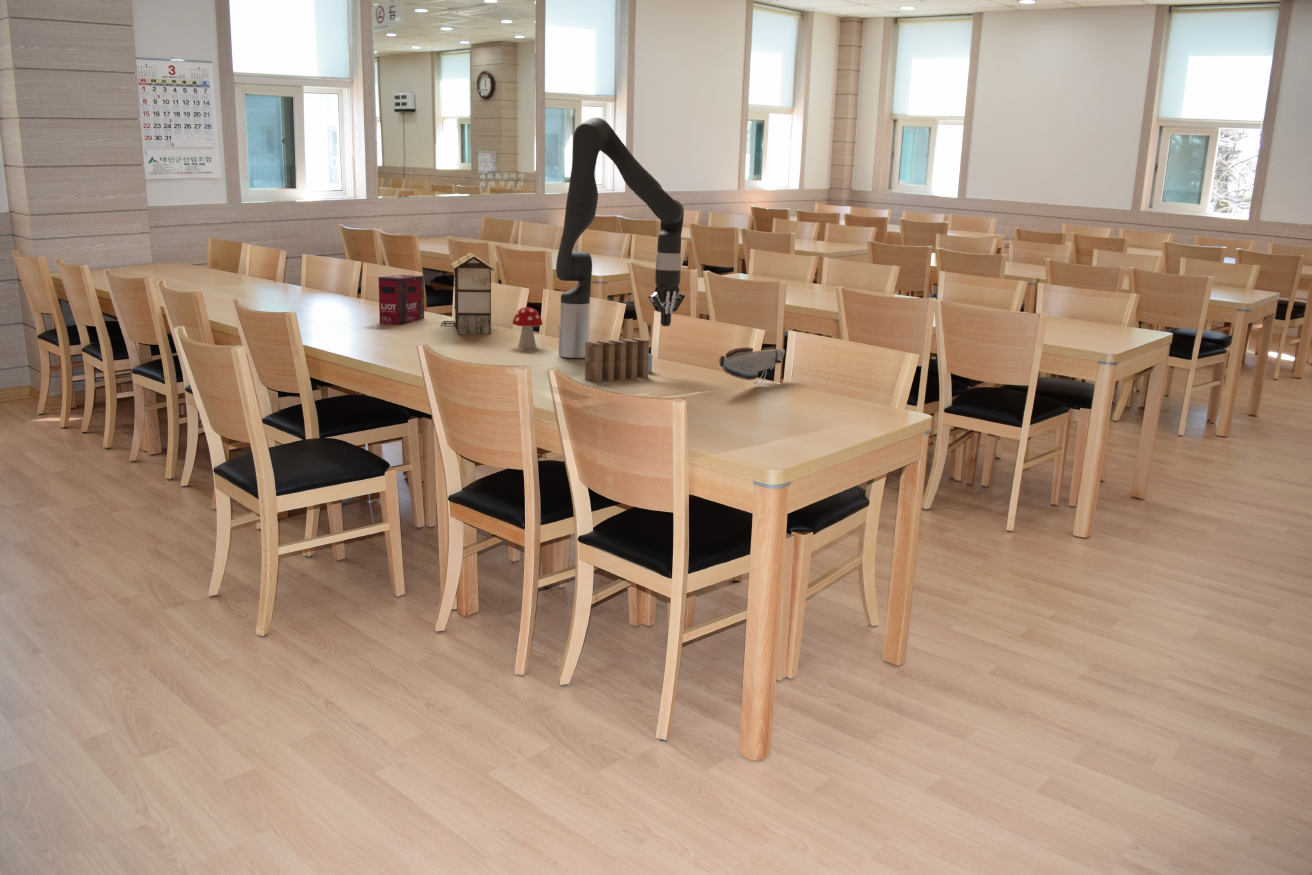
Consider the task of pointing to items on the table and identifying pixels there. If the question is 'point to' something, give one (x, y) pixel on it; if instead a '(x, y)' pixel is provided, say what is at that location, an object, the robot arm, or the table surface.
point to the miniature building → (472, 295)
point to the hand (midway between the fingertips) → (665, 326)
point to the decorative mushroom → (527, 326)
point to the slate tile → (650, 363)
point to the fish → (750, 362)
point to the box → (401, 299)
